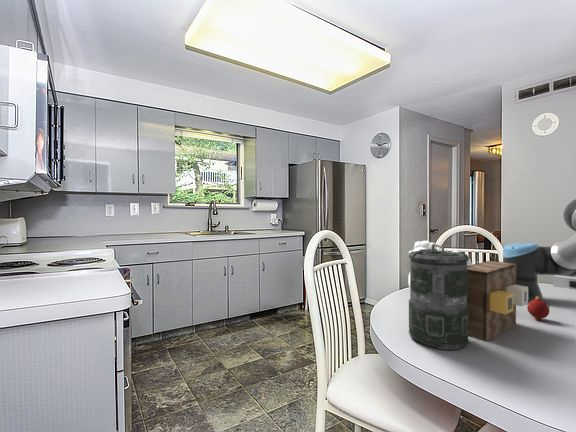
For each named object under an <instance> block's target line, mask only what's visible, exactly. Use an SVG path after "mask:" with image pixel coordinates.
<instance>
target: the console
mask: <svg viewBox="0 0 576 432" xmlns="http://www.w3.org/2000/svg"><path fill="white" fill-rule="evenodd" d="M467 270H468V281H467V308H469V336H468V337H472V338H476V339H478V340H481V341H485V342H488V341H490V340H491V339H493V338H495V337H496V336H497V335H500V334H502V333H503V332H504V331H507V330H508V329H510V328H512V327H513V326H515V325H517V305H513V311H512V312H510V313H508V314H502V313H497V312H493V311H490V292H491V291H494V290H499V291H504V292H506V286H507V285H510V284H514V285H516V264H512V263H504V262H503V261H496V260H495V261H494V260H493V261H492V260H486V261H482V262H479V263H474V264H473V265H470V266H467Z"/></svg>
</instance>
